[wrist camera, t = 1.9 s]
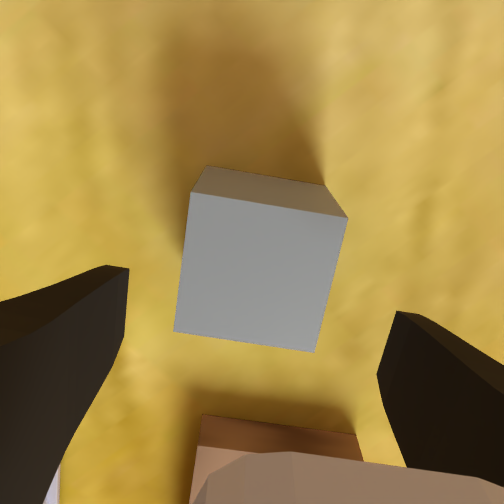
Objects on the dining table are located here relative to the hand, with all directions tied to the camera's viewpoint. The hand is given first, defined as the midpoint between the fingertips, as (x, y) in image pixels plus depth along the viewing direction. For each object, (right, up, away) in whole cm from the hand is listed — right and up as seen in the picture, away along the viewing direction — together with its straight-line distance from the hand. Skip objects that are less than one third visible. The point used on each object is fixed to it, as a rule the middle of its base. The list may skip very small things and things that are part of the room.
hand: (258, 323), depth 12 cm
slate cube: (0, +3, +8) cm, 8 cm away
